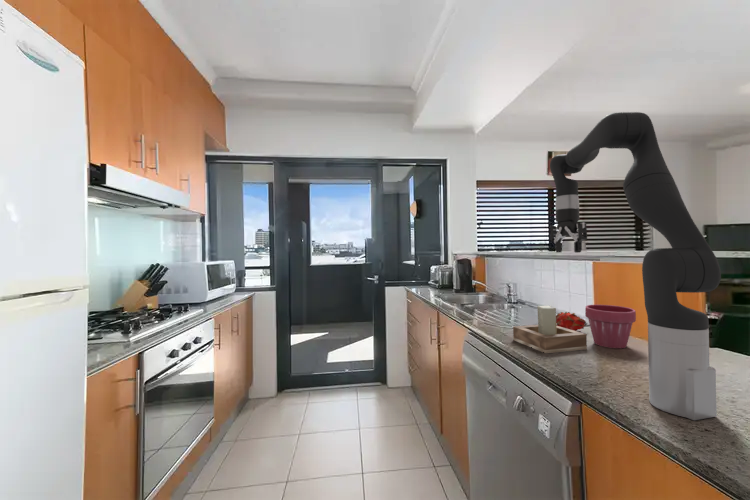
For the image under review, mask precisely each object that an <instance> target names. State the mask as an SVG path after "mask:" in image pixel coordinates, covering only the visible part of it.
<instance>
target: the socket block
mask: <svg viewBox="0 0 750 500" xmlns="http://www.w3.org/2000/svg"><path fill="white" fill-rule="evenodd" d="M556 327H557V334H555V335H544V334H541V333H539V332H538V324H528V325H519V326H517V325H515V326H512V331H513V333H512V337H513V341H514V342H517V343H519V344H522V345H525V346H527V347H529V348H531V347H532V349H534V350H536V351H538V352H541V353H543V352H544V353H543V354H552V353H553V354H554V353H562V352H573V351H580V350H587V349H588V347H587V346H588V345H587V344H588V343H587V341H588V340H587V339H588V338H587V333H584V332H582V331H581V332H577V331H578V330H577V331H574V330H570V329H567V328H563V327H560V326H556Z"/></svg>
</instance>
